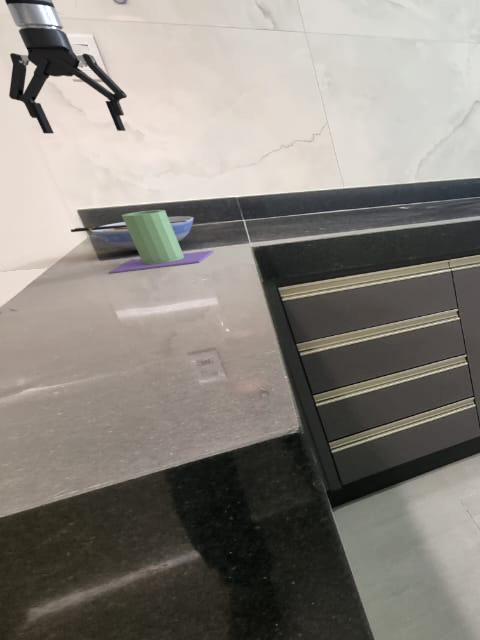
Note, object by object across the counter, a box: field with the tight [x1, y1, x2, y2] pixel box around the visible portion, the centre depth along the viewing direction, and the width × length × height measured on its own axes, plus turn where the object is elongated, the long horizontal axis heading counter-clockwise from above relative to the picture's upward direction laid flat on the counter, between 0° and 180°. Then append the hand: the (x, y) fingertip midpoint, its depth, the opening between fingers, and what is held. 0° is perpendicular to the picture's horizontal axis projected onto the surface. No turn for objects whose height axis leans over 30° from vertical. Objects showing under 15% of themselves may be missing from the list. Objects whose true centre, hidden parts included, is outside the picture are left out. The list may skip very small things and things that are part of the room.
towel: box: [108, 250, 214, 274], centre depth 136 cm, size 18×14×1 cm
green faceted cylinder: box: [121, 209, 184, 264], centre depth 133 cm, size 8×8×12 cm
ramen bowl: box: [70, 215, 194, 252], centre depth 151 cm, size 25×23×8 cm
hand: (86, 132), depth 127 cm, fingers open, 13 cm apart
